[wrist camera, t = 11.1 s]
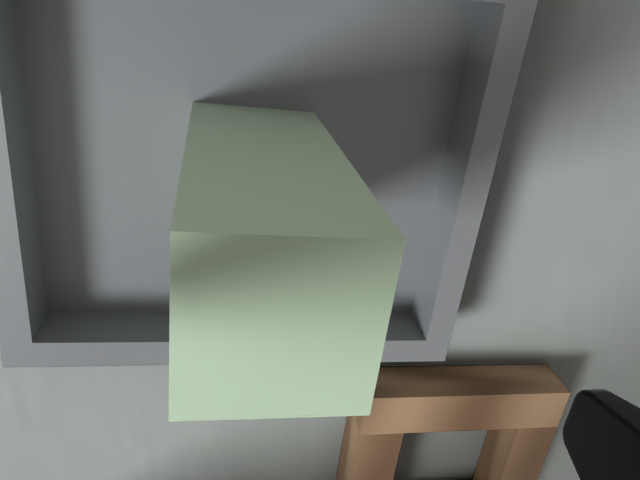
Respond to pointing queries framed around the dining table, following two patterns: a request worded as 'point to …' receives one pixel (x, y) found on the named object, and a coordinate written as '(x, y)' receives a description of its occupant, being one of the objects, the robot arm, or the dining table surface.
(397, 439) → the walnut collar
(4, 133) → the grey tray
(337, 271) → the tall mint pillar
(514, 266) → the dining table surface
